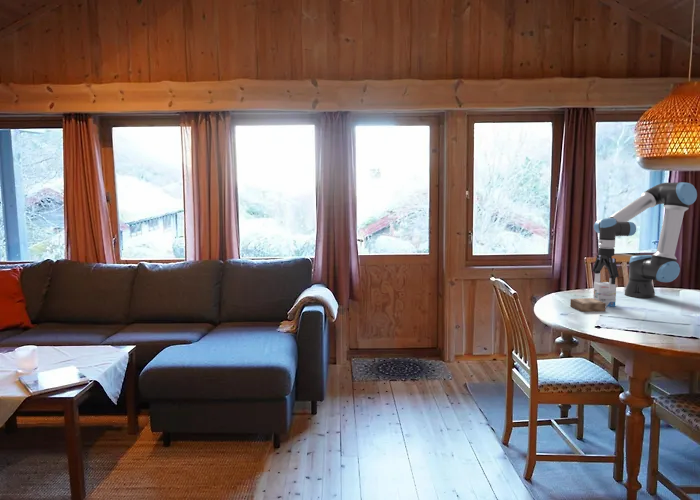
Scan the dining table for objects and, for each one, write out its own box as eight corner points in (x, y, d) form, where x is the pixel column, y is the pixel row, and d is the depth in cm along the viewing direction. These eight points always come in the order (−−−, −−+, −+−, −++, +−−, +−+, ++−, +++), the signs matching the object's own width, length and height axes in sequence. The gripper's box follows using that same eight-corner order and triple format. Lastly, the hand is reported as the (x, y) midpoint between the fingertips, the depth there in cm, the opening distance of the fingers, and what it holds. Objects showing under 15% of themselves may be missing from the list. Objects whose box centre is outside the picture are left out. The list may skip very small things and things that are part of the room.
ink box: (609, 303, 277) (610, 281, 276) (615, 306, 269) (616, 284, 267) (592, 303, 278) (593, 281, 277) (598, 306, 270) (599, 284, 268)
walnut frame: (592, 305, 272) (592, 297, 271) (605, 311, 260) (605, 302, 259) (570, 306, 271) (570, 298, 270) (582, 311, 259) (582, 303, 258)
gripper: (586, 245, 282) (584, 283, 284) (613, 250, 257) (611, 292, 259) (600, 245, 282) (597, 283, 285) (628, 250, 258) (625, 292, 260)
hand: (604, 287), depth 272 cm, fingers open, 13 cm apart
